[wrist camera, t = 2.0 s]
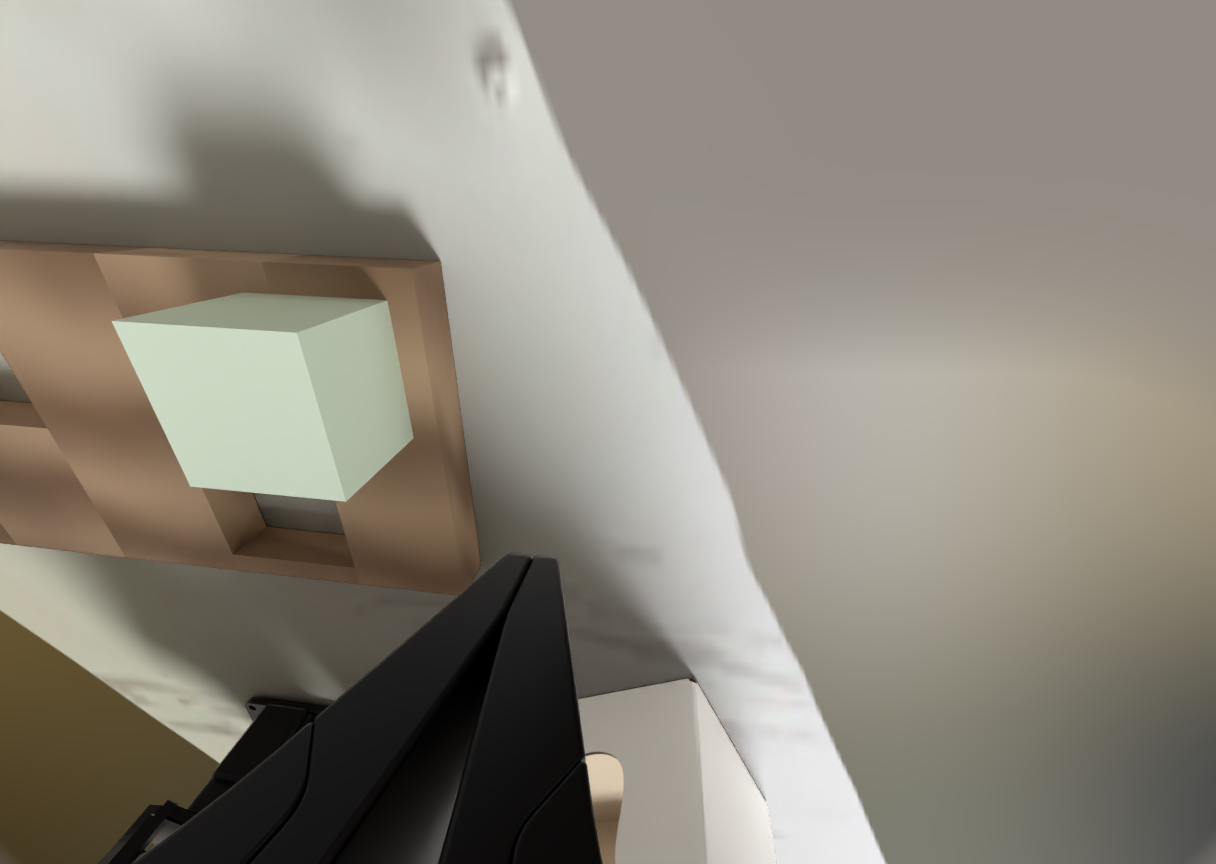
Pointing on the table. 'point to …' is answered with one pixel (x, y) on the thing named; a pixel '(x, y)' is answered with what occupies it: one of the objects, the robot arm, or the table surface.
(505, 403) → the table surface
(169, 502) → the board
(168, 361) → the block
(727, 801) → the gable box
